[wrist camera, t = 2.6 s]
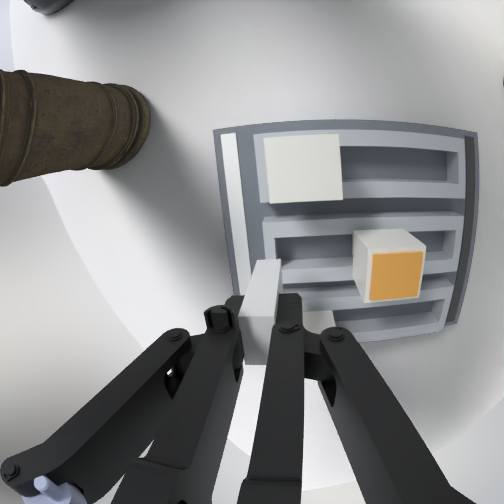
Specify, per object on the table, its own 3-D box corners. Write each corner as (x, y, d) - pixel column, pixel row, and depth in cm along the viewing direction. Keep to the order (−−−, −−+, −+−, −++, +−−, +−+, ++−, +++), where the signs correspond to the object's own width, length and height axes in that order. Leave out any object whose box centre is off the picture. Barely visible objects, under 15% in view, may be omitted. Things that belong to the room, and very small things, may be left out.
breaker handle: (346, 221, 21) (368, 250, 15) (391, 220, 20) (427, 247, 14) (346, 263, 22) (364, 304, 16) (389, 260, 21) (419, 299, 15)
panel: (219, 131, 22) (180, 120, 14) (466, 133, 18) (524, 133, 10) (244, 330, 28) (227, 391, 20) (449, 314, 25) (483, 361, 16)
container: (167, 111, 22) (-4, 81, 5) (119, 186, 25) (-36, 242, 8) (112, 72, 21) (-32, 43, 4) (72, 141, 24) (-66, 164, 7)
